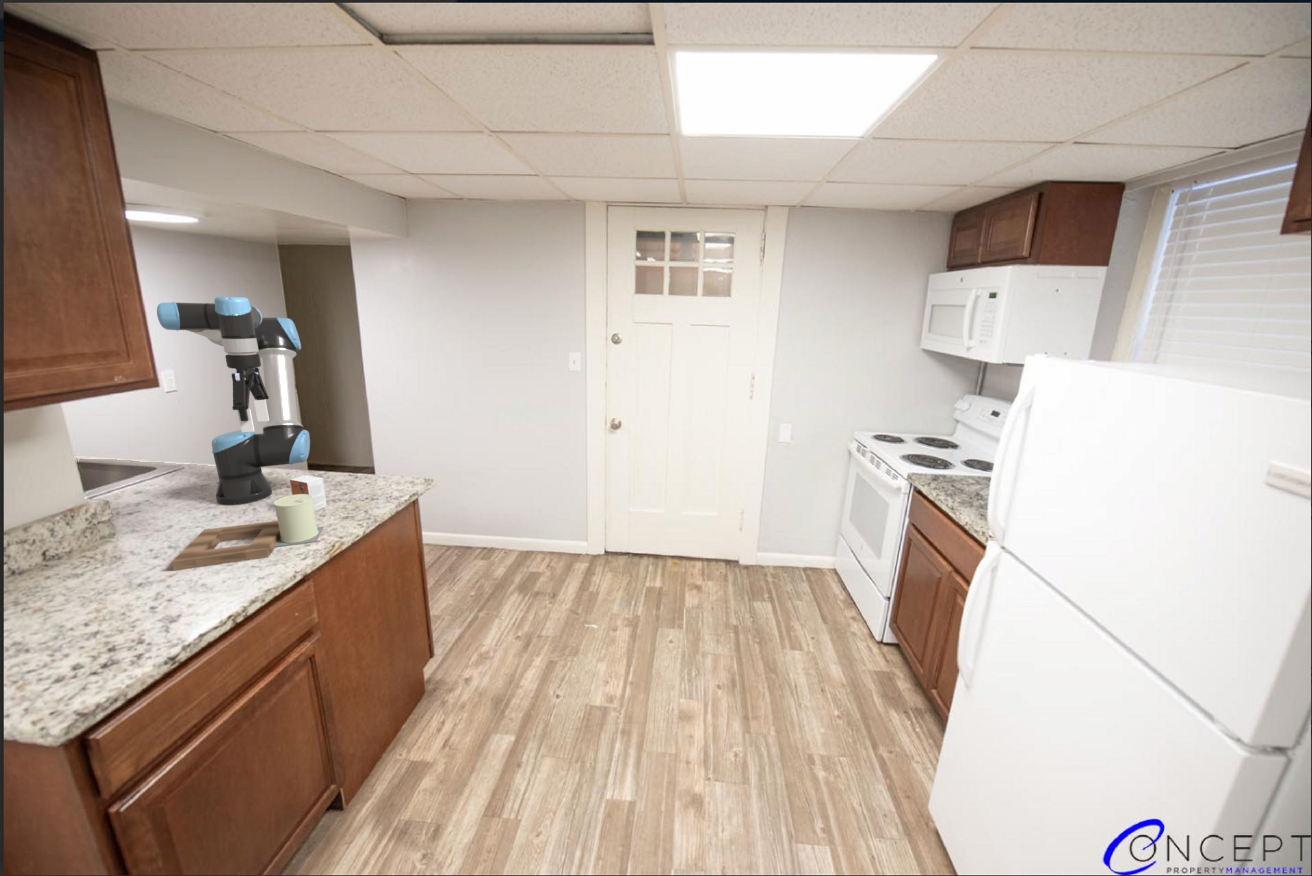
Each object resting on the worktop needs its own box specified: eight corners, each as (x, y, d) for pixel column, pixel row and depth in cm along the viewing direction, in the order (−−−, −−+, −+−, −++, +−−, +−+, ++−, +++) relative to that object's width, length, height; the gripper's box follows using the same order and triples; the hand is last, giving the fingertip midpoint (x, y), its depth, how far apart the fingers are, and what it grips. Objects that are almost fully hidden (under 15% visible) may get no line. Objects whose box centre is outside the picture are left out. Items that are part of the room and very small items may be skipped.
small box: (294, 508, 165) (288, 479, 163) (310, 502, 171) (305, 474, 168) (311, 512, 163) (306, 482, 160) (327, 506, 168) (322, 477, 165)
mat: (284, 532, 149) (284, 531, 149) (323, 527, 153) (323, 526, 152) (274, 547, 140) (274, 546, 140) (316, 541, 144) (316, 540, 144)
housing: (206, 537, 145) (204, 529, 144) (288, 527, 152) (286, 519, 152) (173, 570, 127) (171, 562, 126) (268, 557, 135) (266, 549, 134)
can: (299, 544, 141) (292, 506, 138) (272, 541, 143) (264, 502, 139) (326, 530, 150) (320, 494, 146) (300, 527, 151) (294, 491, 148)
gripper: (241, 349, 149) (254, 417, 155) (206, 358, 127) (223, 437, 133) (271, 349, 152) (283, 416, 158) (242, 357, 130) (258, 435, 135)
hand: (256, 426), depth 145 cm, fingers open, 13 cm apart
